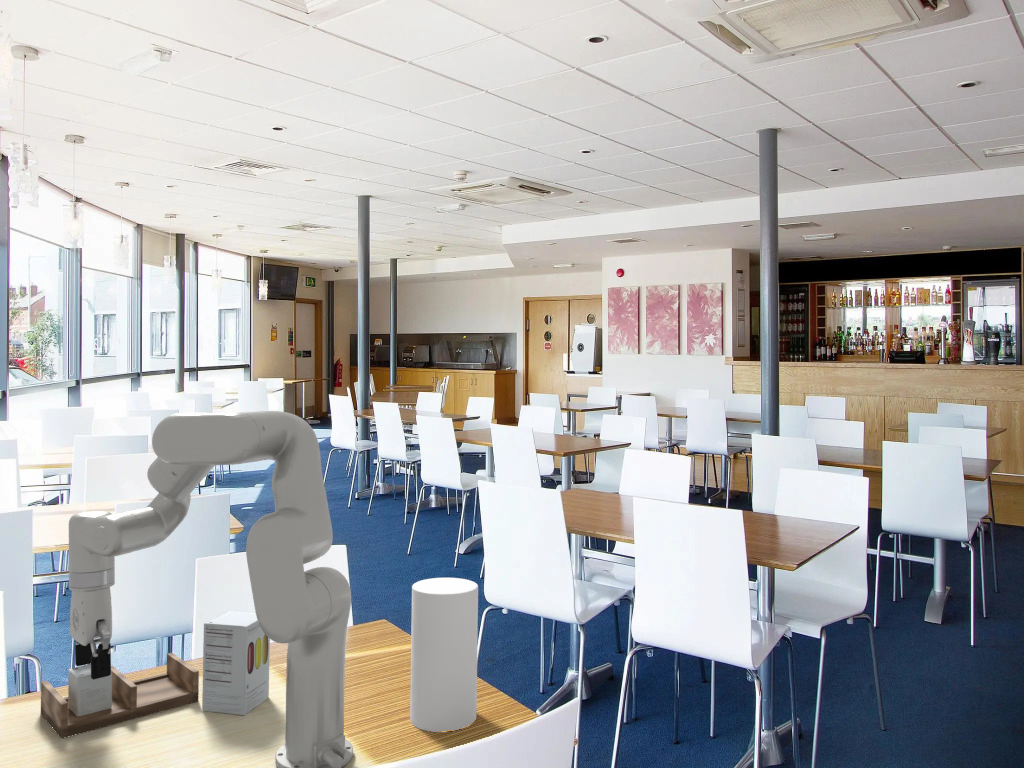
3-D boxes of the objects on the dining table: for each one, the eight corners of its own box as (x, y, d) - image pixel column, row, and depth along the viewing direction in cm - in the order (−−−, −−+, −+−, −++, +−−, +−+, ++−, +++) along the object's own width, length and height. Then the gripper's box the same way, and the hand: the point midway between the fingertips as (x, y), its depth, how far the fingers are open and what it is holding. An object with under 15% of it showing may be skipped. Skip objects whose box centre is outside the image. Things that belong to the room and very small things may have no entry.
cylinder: (489, 714, 148) (491, 583, 148) (449, 738, 138) (451, 598, 138) (438, 699, 155) (439, 574, 155) (396, 721, 144) (398, 587, 145)
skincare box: (112, 708, 145) (113, 669, 145) (76, 718, 140) (77, 677, 140) (102, 699, 149) (102, 660, 149) (66, 707, 145) (67, 668, 145)
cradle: (198, 701, 152) (198, 670, 152) (61, 738, 135) (61, 704, 136) (171, 681, 162) (171, 652, 162) (40, 713, 146) (41, 681, 146)
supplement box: (244, 716, 146) (245, 626, 146) (200, 711, 148) (201, 623, 148) (270, 696, 155) (271, 612, 155) (228, 692, 157) (229, 609, 157)
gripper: (56, 574, 148) (57, 664, 148) (83, 590, 136) (84, 688, 135) (99, 568, 153) (100, 654, 153) (129, 582, 141) (129, 677, 141)
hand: (92, 670), depth 144 cm, fingers open, 9 cm apart
